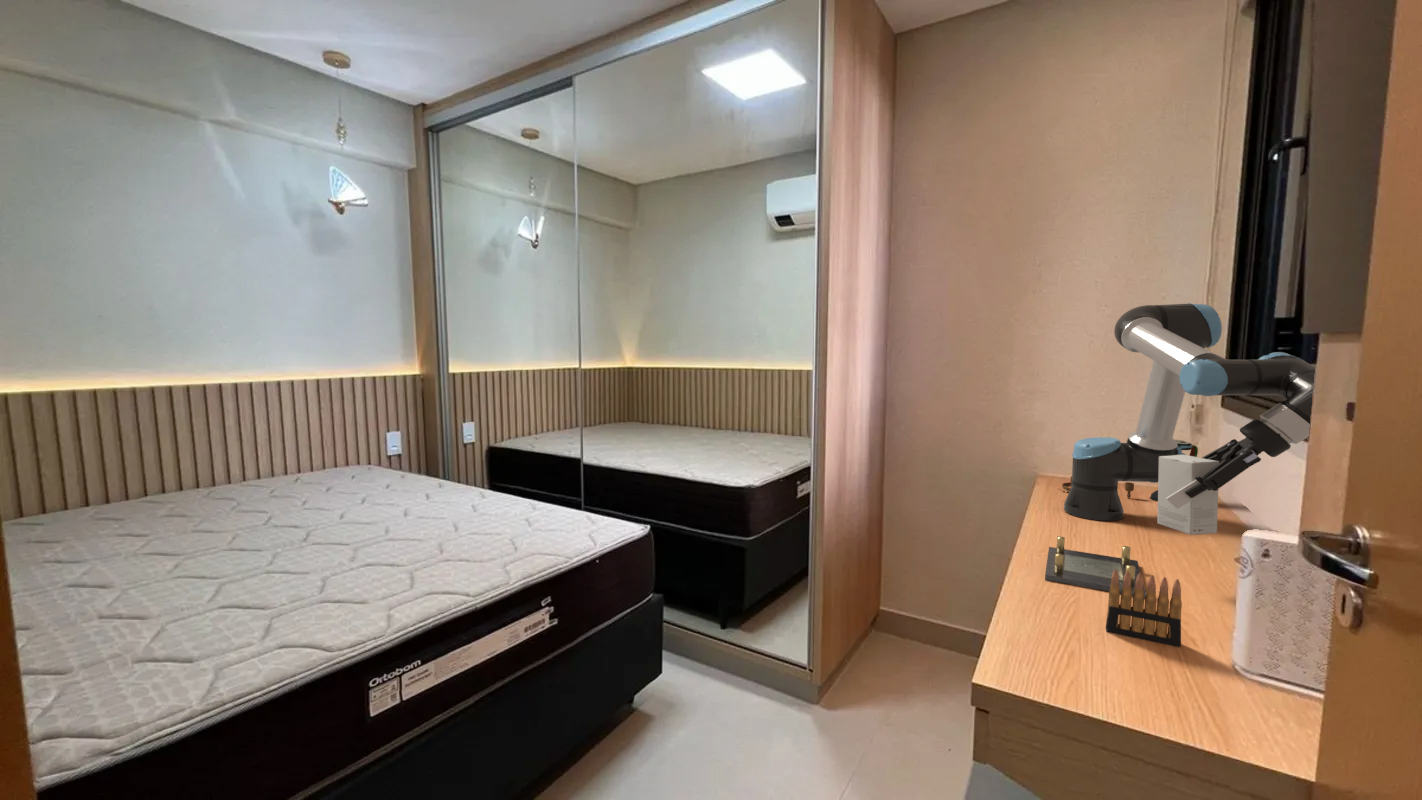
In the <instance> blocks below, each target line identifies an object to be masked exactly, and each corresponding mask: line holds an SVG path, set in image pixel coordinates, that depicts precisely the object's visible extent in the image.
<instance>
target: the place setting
mask: <svg viewBox="0 0 1422 800" xmlns="http://www.w3.org/2000/svg"><path fill="white" fill-rule="evenodd" d="M1124 482H1125V483H1124V490H1125V491H1126V492H1127V494H1126V498H1128V499H1127V500H1131V497H1132V495H1131V493H1132V492H1133V491H1134V489H1135V483H1134V482H1131V481H1124ZM1069 485H1071V486H1069ZM1065 486H1067V487H1065ZM1061 487H1062V489H1063V490H1065V489H1066V490H1065V491H1067V492H1068V493H1069V491H1070V489H1071V487H1072V475H1071V476H1070V482H1069V481H1067V482H1063V483H1062V484H1061ZM1058 489H1059V488H1058ZM1068 490H1069V491H1068ZM1059 491H1061V490H1060V489H1059ZM1065 491H1063V493H1065Z"/></svg>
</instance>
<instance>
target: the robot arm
mask: <svg viewBox="0 0 1422 800" xmlns="http://www.w3.org/2000/svg"><path fill="white" fill-rule="evenodd" d="M1222 330H1223V327H1222V320H1221V317H1220V315H1219V313H1218V312H1217V310H1216V309H1215V308H1213V307H1212V306H1211V305H1209V304H1204V303H1180V304H1179V303H1177V304H1176V303H1175V304H1174V303H1173V304H1154V305H1153V304H1147V305H1140V306H1136V307H1134V308H1132V309H1128V310H1127V311H1126V312H1124V313H1123V314H1122V315H1121V316H1120V317H1119V318H1118V320H1117V321H1116V323H1115V326H1114V330H1113V331H1114V337H1115V339H1116V341H1117V343H1118V344H1119V345H1120V346H1121V347H1123V348H1124V349H1126V350H1127V351H1130V352H1132V353H1140V354H1142V355H1144V356H1145V357H1147V358H1149V360H1152V365H1151V370H1150V372H1149V377H1148V381H1147V385H1146V389H1145V393H1144V397H1143V401H1142V405H1141V410H1140V414H1139V417H1138V422H1137V424H1136V425H1137V426H1136V430H1134V431H1132V432H1131V433H1130V432H1129V434H1128V436H1127V440H1126V442H1121V440H1120V439H1118V438H1116V437H1107V436H1106V437H1103V436H1096V437H1087V438H1083V439H1079V440H1077V441H1076V442H1075V443H1074V445H1073V452H1072V467H1071V469H1072V473H1071V476H1072V486H1070V488H1071V489H1070V491H1069V492H1068V494H1067V496H1066V498H1065V500H1064V503H1063V511H1064V510H1065V511H1066V512H1065V511H1064V512H1065V513H1067V514H1069V515H1071V514H1072V515H1071V516H1075V517H1077V516H1078V518H1081V519H1087V520H1094V521H1105V522H1106V521H1107V522H1111V521H1113V522H1114V521H1120V520H1122V519H1123V518H1124V508H1123V505H1122V502H1121V499H1120V495H1119V492H1118V491H1119V490H1118V489H1119V488H1118V487H1119V486H1118V485H1119V482H1131V483H1134V482H1135V483H1136V482H1137V483H1138V482H1139V483H1151V484H1152V483H1154V484H1156V483H1158V474H1159V456H1172V455H1183V450H1181V449H1180V448H1179V447H1178V446H1177V442H1176V441H1175V440H1176V439H1175V438H1174V433H1175V431H1176V427H1177V426H1176V425H1177V424H1178V419H1179V415H1180V412H1181V409H1182V406H1183V405H1182V404H1183V402H1184V397H1185V393H1187V394H1189V395H1194V396H1204V397H1213V396H1279V397H1281V398H1283V399H1284V400H1283V401H1281V402H1279V403H1277V404H1276V405H1274V406H1273V407H1271V408H1269V409H1268V410H1266V411H1264V412H1262V413H1261V414H1260V415H1259V417H1260V419H1253V420H1250V422H1248V423H1247V424H1245V425H1243V426H1242V427H1240V428H1239V432H1240V433H1241V434H1242V436H1244V437H1245V438H1243V439H1241V440H1239V441H1238V440H1237V439H1235V438H1234V439H1231V440H1230V441H1229V442H1227V443H1225V444H1223V446H1220V447H1219V448H1217V449H1215V450H1213V451H1211V452H1209V453H1208V454H1206V455H1203V456H1202V457H1201V458H1204V459H1209V460H1215V461H1219V464H1218V465H1216V466H1215V467H1214V468H1213V469H1212V470H1210V471H1209V472H1208V473H1207V474H1206V475H1204V476H1203V477H1202V478H1201V477H1200V476H1199V477H1195V479H1196V480H1194V481H1193V482H1191V483H1190V484H1188V485H1186V486H1185V487H1183V488H1181V489H1180V490H1178V491H1177V492H1175V493H1173V494H1172V495H1170V496H1168V497H1167V498H1166V499H1167V500H1168V501H1169V502H1170V503H1171V504H1172V505H1173V506H1175V507H1176V508H1177V509H1178V508H1180V507H1182V506H1183V505H1185V504H1187V503H1188V502H1190V501H1192V500H1193V499H1195V498H1197V497H1198V496H1200V495H1202V494H1203V493H1205V492H1207V491H1210V490H1213V491H1216V490H1218V491H1219V489H1221V488H1222V487H1223V486H1225V485H1226V484H1228V483H1230V481H1232V480H1234V479H1235V478H1236V477H1238V476H1239V475H1240V474H1242V473H1243V472H1245V471H1246V470H1247V469H1249V468H1250V467H1252V466H1254V465H1256V464H1258V463H1259V462H1261V461H1262V458H1261V457H1260V456H1259V455H1260V454H1262V453H1265V454H1266V455H1268V456H1269V457H1271V458H1276V457H1278V456H1280V455H1281V454H1283V453H1284V452H1286V451H1288V450H1289V449H1291V447H1292V445H1291V444H1294V445H1298V444H1299V443H1300V442H1302V441H1304V440H1306V439H1307V440H1309V439H1308V436H1309V427H1310V415H1311V406H1312V393H1313V383H1314V374H1315V367H1316V366H1315V365H1312V364H1311V363H1308V362H1307V361H1305V360H1304V359H1302V358H1300V357H1297V356H1295V355H1291V354H1289V353H1286V352H1283V351H1277V352H1276V351H1274V352H1271V353H1268V354H1266V355H1262V356H1261V357H1259V358H1258V359H1226V358H1224V357H1222V356H1220V355H1217V354H1216V353H1214V352H1212V351H1210V350H1208V348H1211V347H1214V346H1216V345H1217V344H1218V343H1219V341H1220V339H1221V337H1222V332H1223V331H1222ZM1206 348H1207V349H1206Z"/></svg>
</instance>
